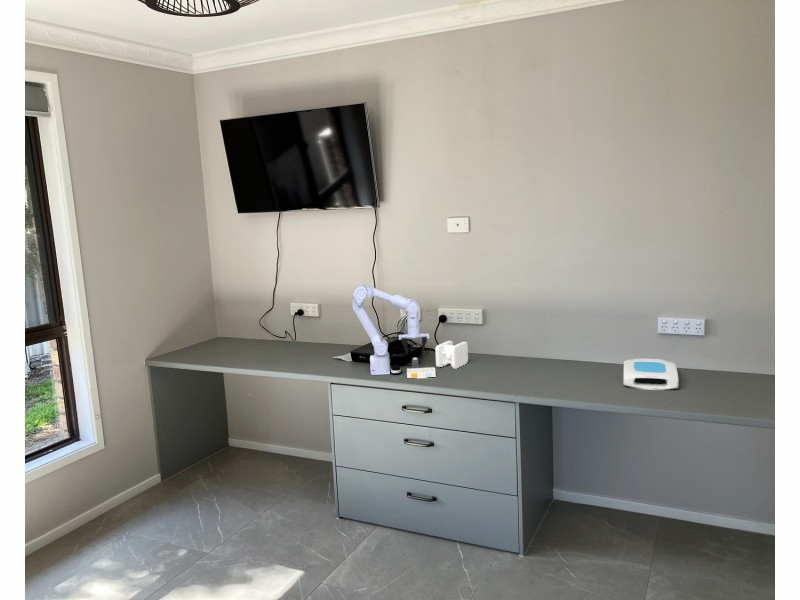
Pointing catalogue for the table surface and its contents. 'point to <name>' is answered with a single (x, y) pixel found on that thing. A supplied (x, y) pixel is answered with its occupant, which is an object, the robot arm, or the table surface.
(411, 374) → the white printed box
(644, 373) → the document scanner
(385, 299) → the robot arm
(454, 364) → the cable organizer
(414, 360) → the plug
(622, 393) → the table surface
